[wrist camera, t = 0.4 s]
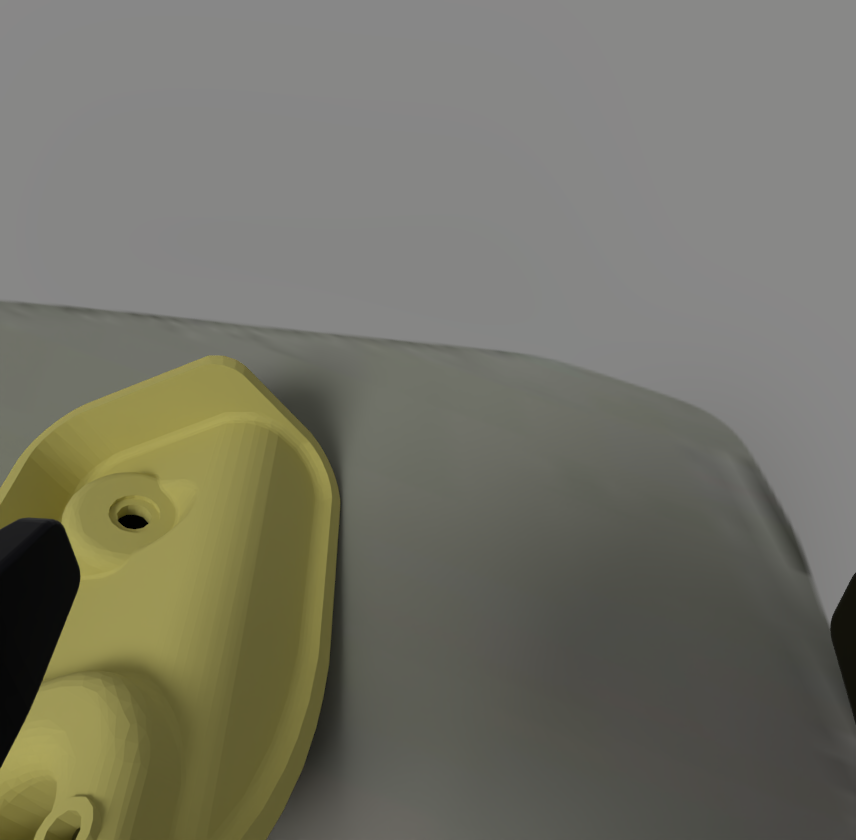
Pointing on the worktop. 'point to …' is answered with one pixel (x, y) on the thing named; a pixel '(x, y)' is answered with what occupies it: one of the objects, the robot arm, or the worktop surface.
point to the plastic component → (177, 612)
